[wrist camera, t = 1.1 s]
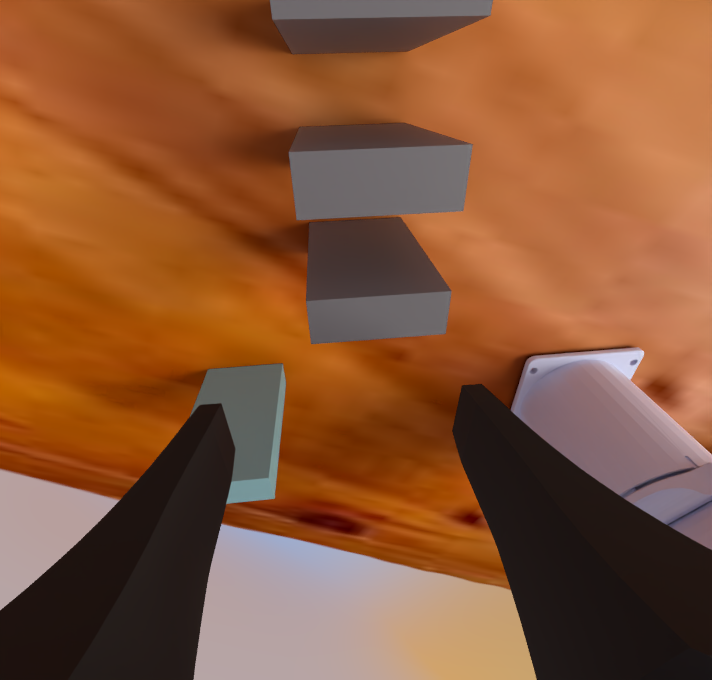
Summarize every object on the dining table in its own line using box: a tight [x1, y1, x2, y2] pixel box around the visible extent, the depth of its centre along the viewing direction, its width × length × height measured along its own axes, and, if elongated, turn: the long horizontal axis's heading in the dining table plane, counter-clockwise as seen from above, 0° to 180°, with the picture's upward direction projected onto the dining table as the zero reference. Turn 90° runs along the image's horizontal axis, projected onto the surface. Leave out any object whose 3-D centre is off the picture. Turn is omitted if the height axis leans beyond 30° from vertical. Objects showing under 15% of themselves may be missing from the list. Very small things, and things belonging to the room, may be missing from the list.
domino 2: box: [289, 123, 473, 220], centre depth 12 cm, size 2×4×8 cm, turn 91°
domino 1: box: [270, 0, 493, 54], centre depth 10 cm, size 2×4×8 cm, turn 91°
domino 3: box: [306, 217, 451, 344], centre depth 15 cm, size 2×4×8 cm, turn 91°
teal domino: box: [190, 363, 286, 504], centre depth 19 cm, size 2×4×8 cm, turn 91°
